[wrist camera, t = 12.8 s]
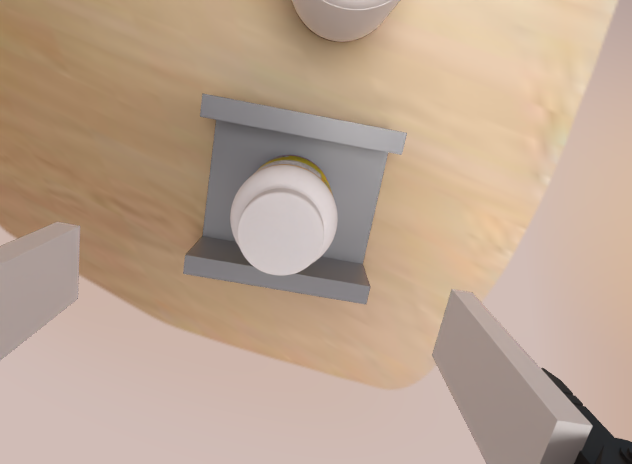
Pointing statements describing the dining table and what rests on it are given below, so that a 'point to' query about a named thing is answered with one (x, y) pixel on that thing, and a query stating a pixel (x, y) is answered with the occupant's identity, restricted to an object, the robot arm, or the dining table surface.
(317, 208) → the supplement bottle
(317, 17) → the pill bottle
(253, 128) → the u cradle
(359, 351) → the dining table surface
